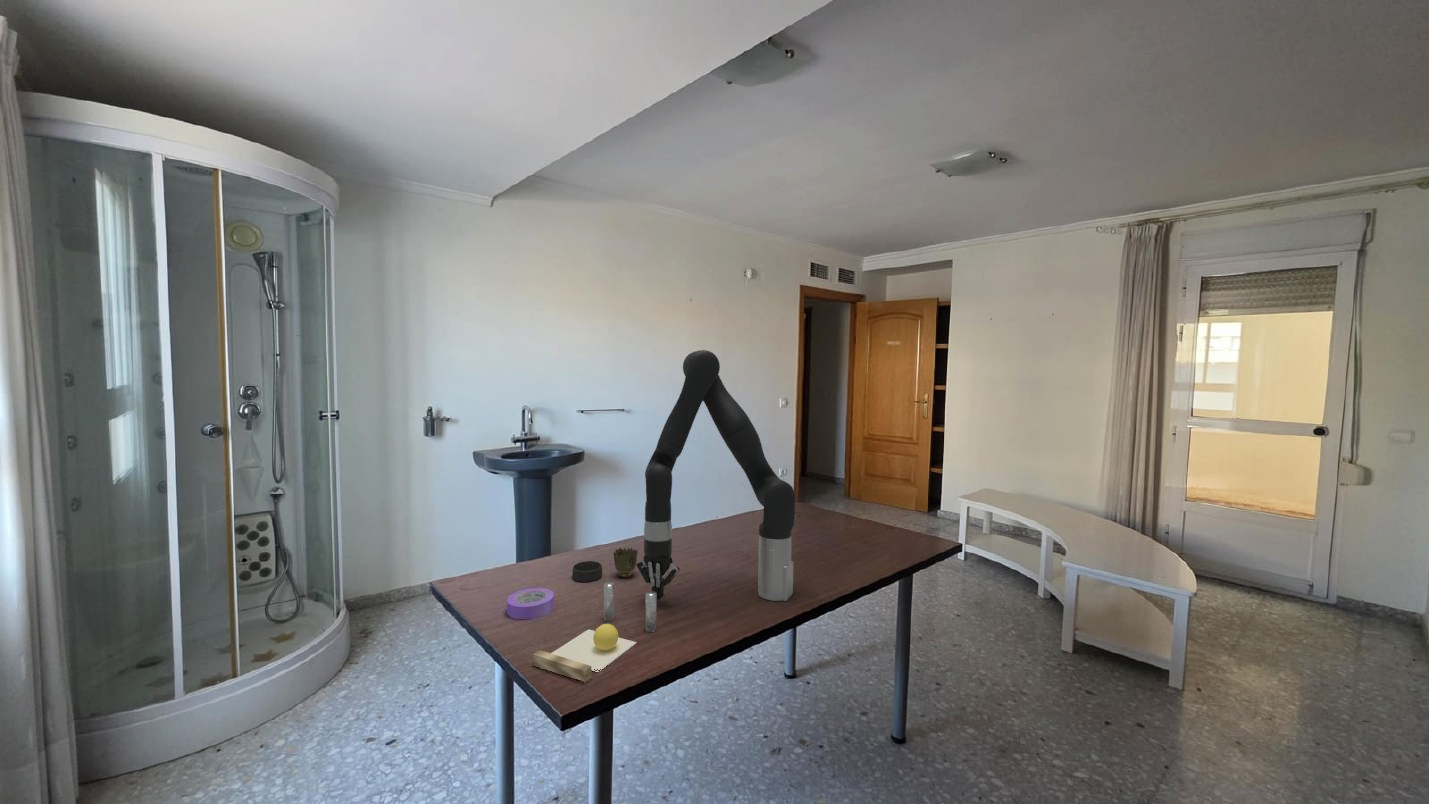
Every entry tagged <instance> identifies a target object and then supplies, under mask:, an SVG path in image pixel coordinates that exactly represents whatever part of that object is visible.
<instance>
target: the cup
mask: <svg viewBox="0 0 1429 804" xmlns="http://www.w3.org/2000/svg"><path fill="white" fill-rule="evenodd" d="M612 554H613V558H614V560H613V561H614V566H615V569H616V571H617V572H618V573H619V577H621V578H623V579H627V578H630V577H631V576H632V572H633V571H634V570H635V568H636V567H637V566H636V565H637V560H638V549H636V548H632V547H628V548H626V547H624V548H621V547H619V548H618V549H617V548H616V549H615V551H613V553H612Z"/></svg>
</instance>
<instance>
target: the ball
mask: <svg viewBox="0 0 1429 804" xmlns="http://www.w3.org/2000/svg"><path fill="white" fill-rule="evenodd" d="M594 631H595V633H594V637H593V640H594V644H595V646H596V647H597V648H598V649H600V650H603V651H607V650H610V649H612V648H613V647H614V646H615V645H616V643H617V641H618V637H619V632H618V630H617V627H616V626H614V625H612V624H611V623H603V624H600V626H598V627H597V628H596V630H594Z"/></svg>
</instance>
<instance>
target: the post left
mask: <svg viewBox="0 0 1429 804" xmlns="http://www.w3.org/2000/svg"><path fill="white" fill-rule="evenodd" d="M614 620H615V583H614V582H611V581H607V582H604V583H603V621H604V622H613V621H614Z"/></svg>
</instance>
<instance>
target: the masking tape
mask: <svg viewBox="0 0 1429 804" xmlns="http://www.w3.org/2000/svg"><path fill="white" fill-rule="evenodd" d="M554 610H555V593H554V592H553V591H552V590H551V589H547V588H543V587H531V588H526V589H521V590H518V591H516V592H514V593H512V594H511V595H509V596H508V597H507V599H506V614H508V615H509V616H510V617H509V616H508V615H507V616H508V617H509V618H511V617H512V618H511V619H513V618H515V619H514V620H518V619H529V620H535V619H539V617H540V618H542V616H543V617H546V616H548V615H549V614H551V613H552V612H551V611H554ZM534 618H535V619H534Z"/></svg>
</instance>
